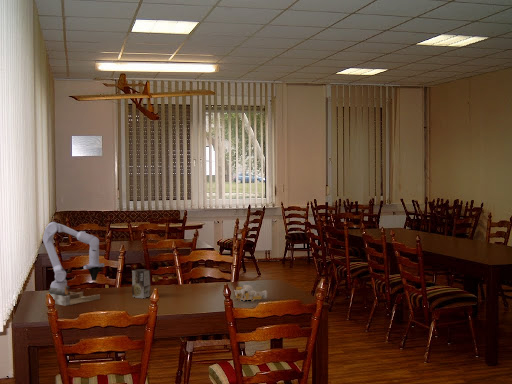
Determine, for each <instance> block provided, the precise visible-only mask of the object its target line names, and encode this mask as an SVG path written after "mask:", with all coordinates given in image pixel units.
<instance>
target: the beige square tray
mask: <svg viewBox="0 0 512 384" xmlns="http://www.w3.org/2000/svg"><path fill="white" fill-rule="evenodd" d="M67 295H69V296H70V300H71V299H76V298H81V293H78V292H74V291H68V294H67Z"/></svg>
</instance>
